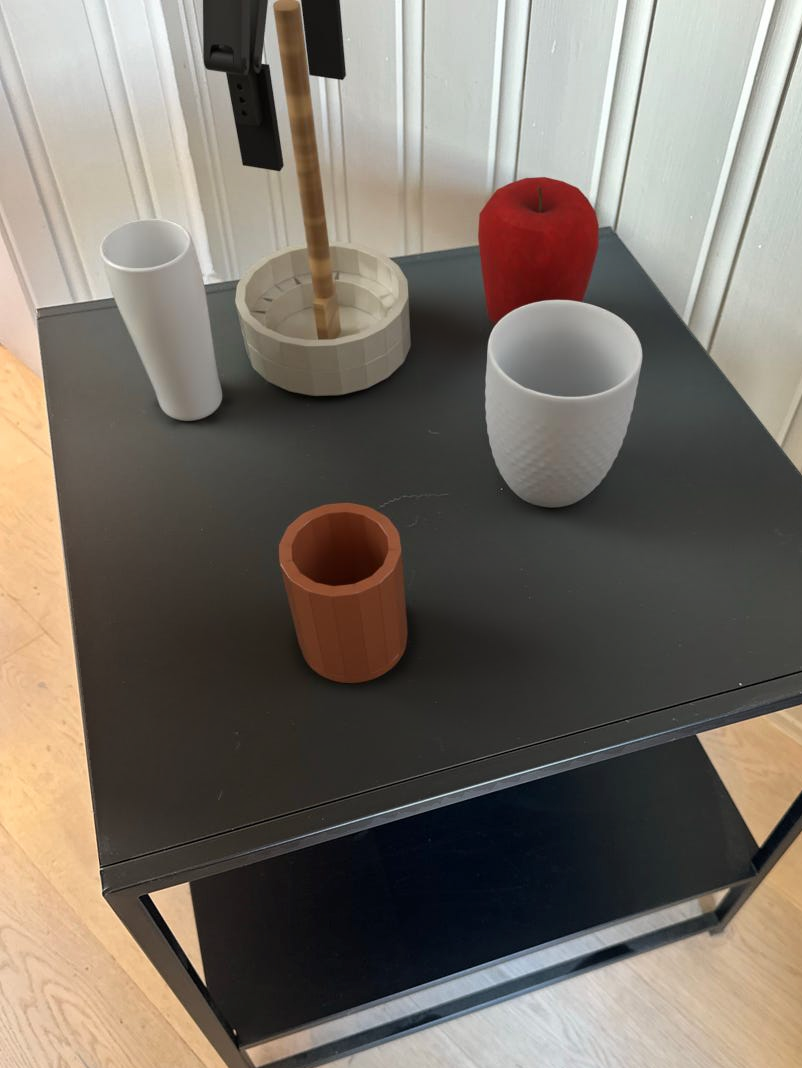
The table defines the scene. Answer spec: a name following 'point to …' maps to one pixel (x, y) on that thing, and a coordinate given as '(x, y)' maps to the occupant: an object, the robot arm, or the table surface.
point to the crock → (346, 590)
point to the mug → (559, 397)
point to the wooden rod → (307, 164)
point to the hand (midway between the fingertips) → (297, 118)
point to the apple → (536, 244)
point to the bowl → (290, 329)
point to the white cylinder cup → (165, 313)
